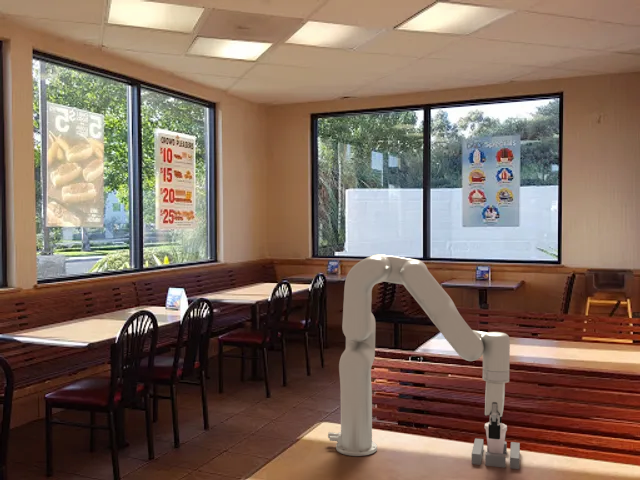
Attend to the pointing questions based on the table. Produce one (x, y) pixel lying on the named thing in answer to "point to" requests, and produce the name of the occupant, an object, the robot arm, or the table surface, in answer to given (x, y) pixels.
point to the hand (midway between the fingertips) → (495, 433)
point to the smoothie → (496, 444)
